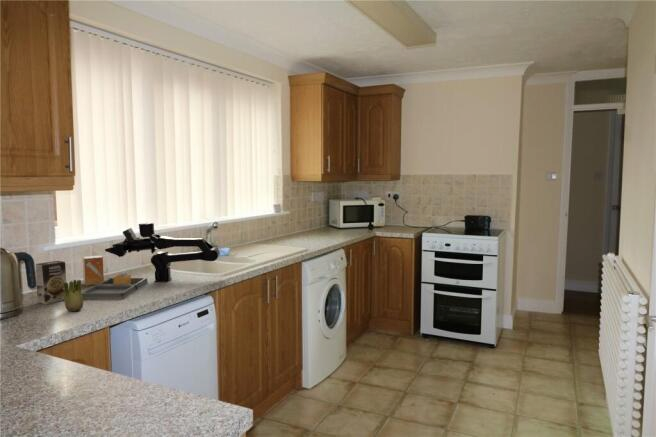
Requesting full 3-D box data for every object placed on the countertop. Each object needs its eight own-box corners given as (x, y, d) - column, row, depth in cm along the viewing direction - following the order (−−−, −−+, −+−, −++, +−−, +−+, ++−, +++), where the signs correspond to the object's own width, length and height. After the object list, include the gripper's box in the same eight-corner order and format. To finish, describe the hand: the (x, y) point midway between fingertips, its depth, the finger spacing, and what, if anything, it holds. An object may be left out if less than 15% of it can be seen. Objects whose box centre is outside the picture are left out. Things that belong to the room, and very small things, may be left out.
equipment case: (147, 282, 227) (147, 277, 226) (136, 290, 213) (136, 284, 213) (109, 283, 226) (109, 277, 226) (96, 290, 212) (95, 284, 212)
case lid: (136, 290, 213) (136, 284, 213) (123, 299, 198) (122, 293, 198) (96, 290, 212) (95, 284, 212) (79, 299, 197) (79, 293, 197)
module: (131, 284, 223) (130, 272, 222) (125, 288, 216) (124, 276, 216) (120, 285, 223) (119, 272, 222) (114, 288, 216) (113, 276, 215)
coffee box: (45, 304, 190) (43, 265, 188) (37, 302, 193) (34, 263, 191) (67, 299, 197) (65, 261, 196) (59, 297, 201) (57, 260, 199)
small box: (85, 286, 220) (83, 258, 219) (83, 283, 225) (82, 256, 224) (104, 283, 225) (103, 256, 223) (102, 281, 230) (101, 254, 229)
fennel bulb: (64, 313, 179) (62, 282, 177) (68, 309, 183) (66, 279, 182) (81, 312, 180) (79, 281, 179) (84, 308, 185) (83, 278, 183)
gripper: (145, 225, 237) (113, 228, 236) (132, 232, 219) (98, 235, 218) (148, 246, 239) (117, 249, 238) (136, 255, 221) (102, 258, 220)
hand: (108, 248), depth 228 cm, fingers open, 9 cm apart
